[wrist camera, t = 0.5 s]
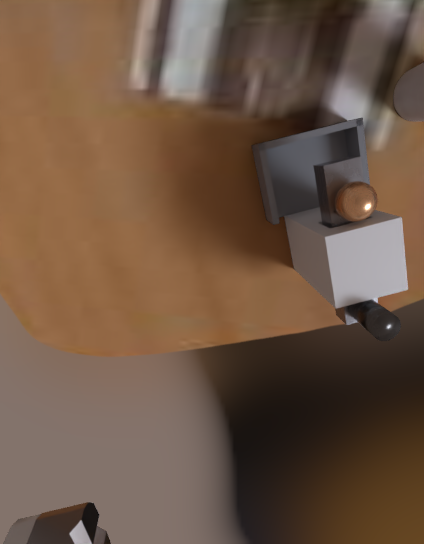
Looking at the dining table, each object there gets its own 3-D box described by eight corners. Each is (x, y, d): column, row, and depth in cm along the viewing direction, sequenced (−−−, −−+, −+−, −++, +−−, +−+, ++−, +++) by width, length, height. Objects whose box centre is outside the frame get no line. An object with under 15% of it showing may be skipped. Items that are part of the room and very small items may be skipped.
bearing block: (284, 215, 52) (324, 237, 38) (339, 200, 52) (401, 217, 38) (293, 268, 54) (335, 308, 40) (347, 254, 55) (408, 289, 40)
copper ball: (326, 185, 39) (342, 188, 35) (363, 175, 39) (383, 177, 36) (331, 222, 40) (347, 229, 37) (367, 213, 41) (387, 219, 37)
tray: (251, 145, 49) (257, 144, 45) (347, 120, 49) (362, 117, 45) (266, 219, 52) (273, 224, 48) (357, 196, 52) (371, 199, 48)
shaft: (313, 165, 42) (346, 167, 33) (348, 156, 42) (390, 156, 34) (336, 314, 47) (369, 347, 39) (367, 306, 47) (406, 337, 39)
